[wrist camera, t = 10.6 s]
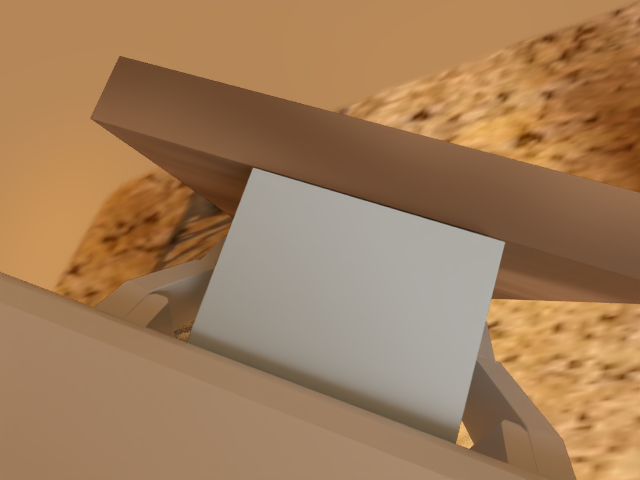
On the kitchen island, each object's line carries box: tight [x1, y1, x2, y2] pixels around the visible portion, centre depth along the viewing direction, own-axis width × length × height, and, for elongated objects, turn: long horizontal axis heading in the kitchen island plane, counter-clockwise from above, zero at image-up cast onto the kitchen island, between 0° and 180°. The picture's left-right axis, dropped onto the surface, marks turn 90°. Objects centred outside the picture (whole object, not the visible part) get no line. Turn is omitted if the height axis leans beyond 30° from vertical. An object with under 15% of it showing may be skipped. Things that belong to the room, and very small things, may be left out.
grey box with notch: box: [187, 168, 505, 444], centre depth 12 cm, size 6×6×10 cm
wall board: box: [91, 56, 640, 304], centre depth 16 cm, size 10×16×18 cm, turn 72°
